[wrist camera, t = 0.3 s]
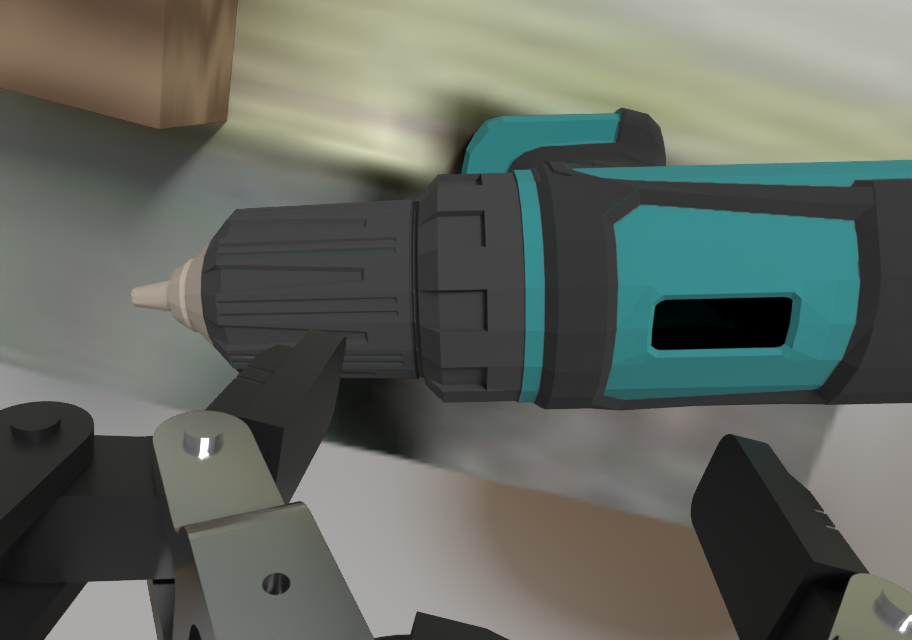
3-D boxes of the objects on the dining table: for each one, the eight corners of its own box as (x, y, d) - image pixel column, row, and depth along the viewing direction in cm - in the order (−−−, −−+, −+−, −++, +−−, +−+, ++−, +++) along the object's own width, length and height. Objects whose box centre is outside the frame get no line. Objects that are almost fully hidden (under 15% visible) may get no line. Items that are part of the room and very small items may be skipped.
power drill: (338, 252, 41) (116, 468, 18) (324, 114, 38) (31, 159, 15) (731, 251, 39) (1059, 497, 16) (753, 104, 36) (1209, 139, 12)
